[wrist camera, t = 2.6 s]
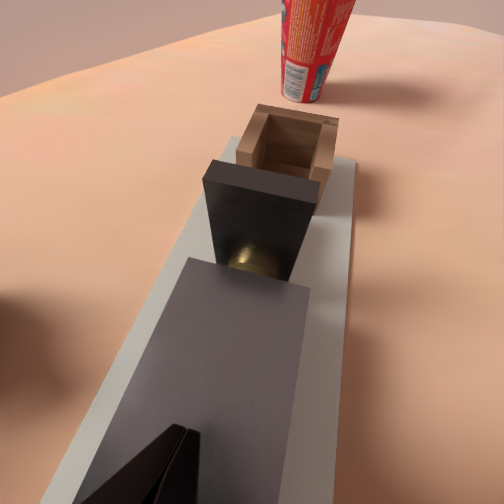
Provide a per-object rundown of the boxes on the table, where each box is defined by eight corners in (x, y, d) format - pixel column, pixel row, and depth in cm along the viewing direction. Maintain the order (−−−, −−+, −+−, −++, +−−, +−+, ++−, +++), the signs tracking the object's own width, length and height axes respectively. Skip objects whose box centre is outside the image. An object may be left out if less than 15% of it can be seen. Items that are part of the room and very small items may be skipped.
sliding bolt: (237, 508, 11) (230, 703, 4) (146, 476, 12) (-23, 592, 4) (298, 223, 20) (333, 109, 13) (245, 211, 21) (248, 94, 13)
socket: (314, 215, 21) (331, 169, 17) (236, 198, 22) (235, 150, 18) (322, 166, 25) (339, 118, 21) (255, 153, 25) (258, 103, 21)
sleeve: (252, 544, 11) (259, 621, 7) (119, 495, 12) (55, 538, 8) (293, 318, 17) (310, 287, 12) (200, 293, 17) (188, 256, 13)
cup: (325, 77, 35) (359, -58, 25) (340, 110, 31) (388, -37, 21) (258, 76, 35) (266, -63, 25) (263, 110, 30) (275, -43, 20)
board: (321, 643, 10) (323, 649, 10) (30, 526, 11) (26, 529, 11) (354, 162, 26) (355, 160, 25) (231, 138, 27) (231, 135, 27)
